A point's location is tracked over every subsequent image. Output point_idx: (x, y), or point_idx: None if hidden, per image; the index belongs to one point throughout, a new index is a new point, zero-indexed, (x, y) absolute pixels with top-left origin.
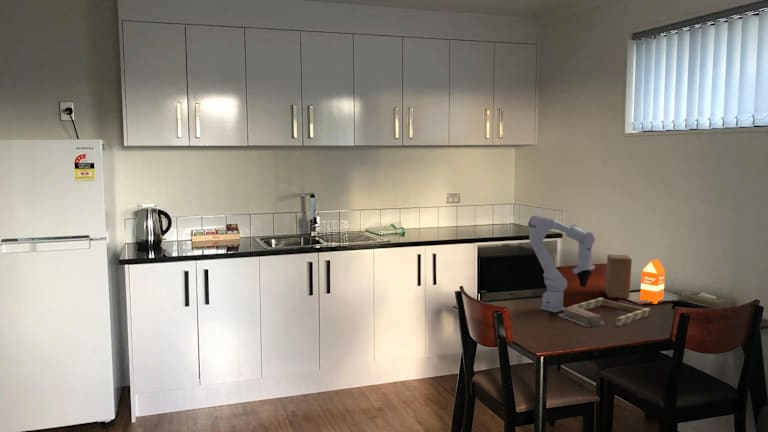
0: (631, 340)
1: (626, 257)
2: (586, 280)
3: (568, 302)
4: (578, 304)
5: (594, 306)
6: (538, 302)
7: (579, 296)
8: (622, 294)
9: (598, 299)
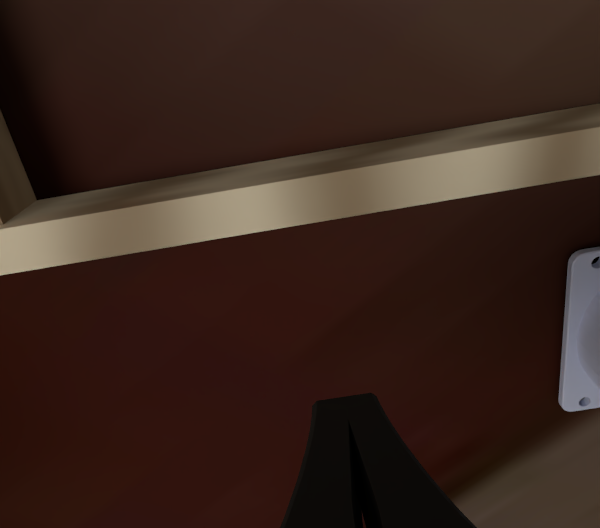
0: None
1: None
2: (351, 504)
3: None
4: (570, 160)
5: (198, 175)
6: (554, 512)
7: (43, 513)
8: None
9: (79, 223)
